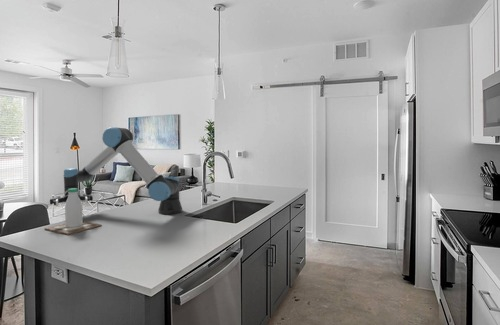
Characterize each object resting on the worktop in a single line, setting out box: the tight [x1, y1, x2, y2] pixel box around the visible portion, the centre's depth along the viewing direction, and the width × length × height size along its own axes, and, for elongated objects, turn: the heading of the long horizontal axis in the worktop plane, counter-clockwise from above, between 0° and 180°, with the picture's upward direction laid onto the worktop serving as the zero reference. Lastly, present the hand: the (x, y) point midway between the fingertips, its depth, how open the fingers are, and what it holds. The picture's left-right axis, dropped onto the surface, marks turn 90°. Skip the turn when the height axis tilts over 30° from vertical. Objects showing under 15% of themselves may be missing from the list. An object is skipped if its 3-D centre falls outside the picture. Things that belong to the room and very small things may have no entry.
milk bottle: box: [64, 187, 84, 228], centre depth 155 cm, size 8×8×20 cm
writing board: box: [44, 220, 102, 236], centre depth 155 cm, size 20×18×1 cm
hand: (72, 202), depth 156 cm, fingers open, 13 cm apart
